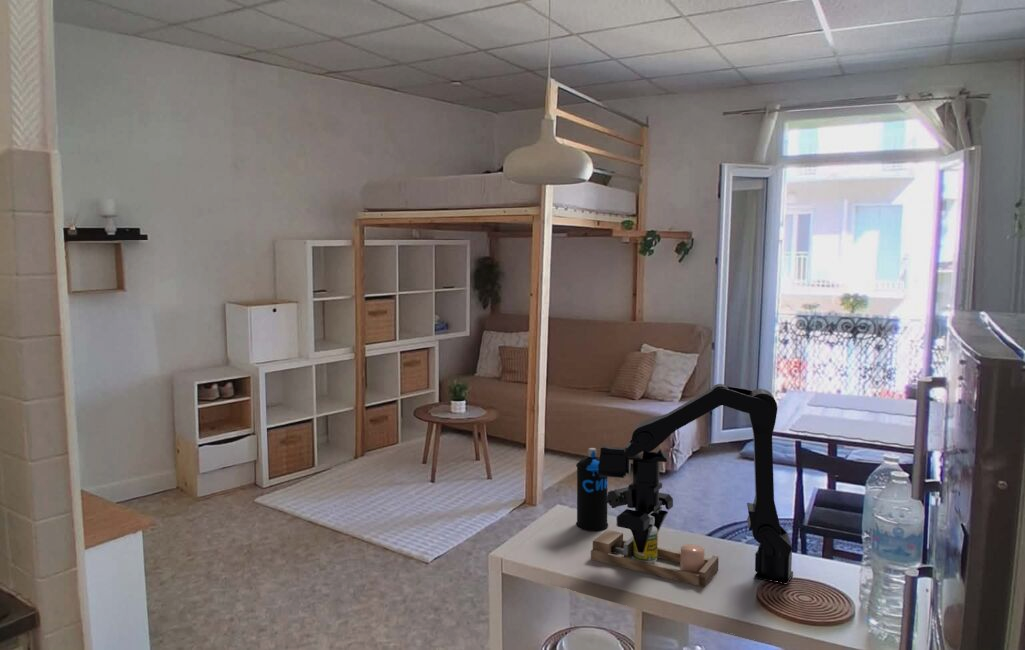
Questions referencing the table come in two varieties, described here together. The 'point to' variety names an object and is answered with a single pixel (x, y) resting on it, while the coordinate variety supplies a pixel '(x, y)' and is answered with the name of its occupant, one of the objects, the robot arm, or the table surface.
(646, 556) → the supplement bottle
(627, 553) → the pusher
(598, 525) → the aerosol can
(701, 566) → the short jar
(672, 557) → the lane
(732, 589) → the table surface
